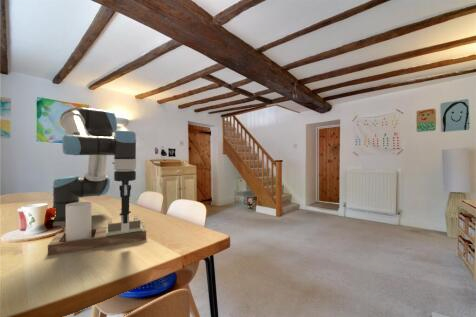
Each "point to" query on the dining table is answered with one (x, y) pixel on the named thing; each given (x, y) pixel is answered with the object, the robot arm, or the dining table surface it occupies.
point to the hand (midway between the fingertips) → (125, 230)
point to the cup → (78, 221)
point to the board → (93, 240)
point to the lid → (116, 227)
